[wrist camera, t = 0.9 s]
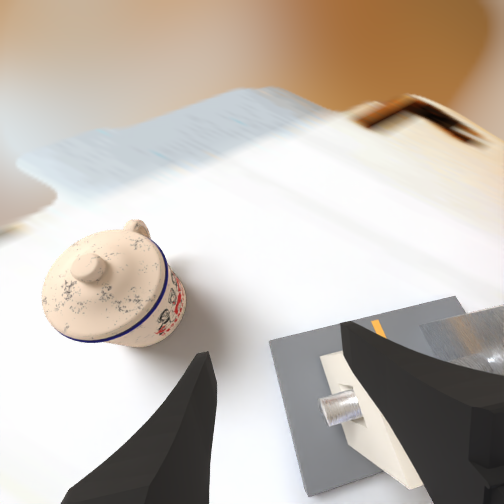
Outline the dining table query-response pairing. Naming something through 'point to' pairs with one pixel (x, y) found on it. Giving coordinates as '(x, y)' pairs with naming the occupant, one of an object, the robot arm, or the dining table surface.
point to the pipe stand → (441, 354)
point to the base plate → (316, 386)
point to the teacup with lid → (114, 289)
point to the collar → (369, 425)
